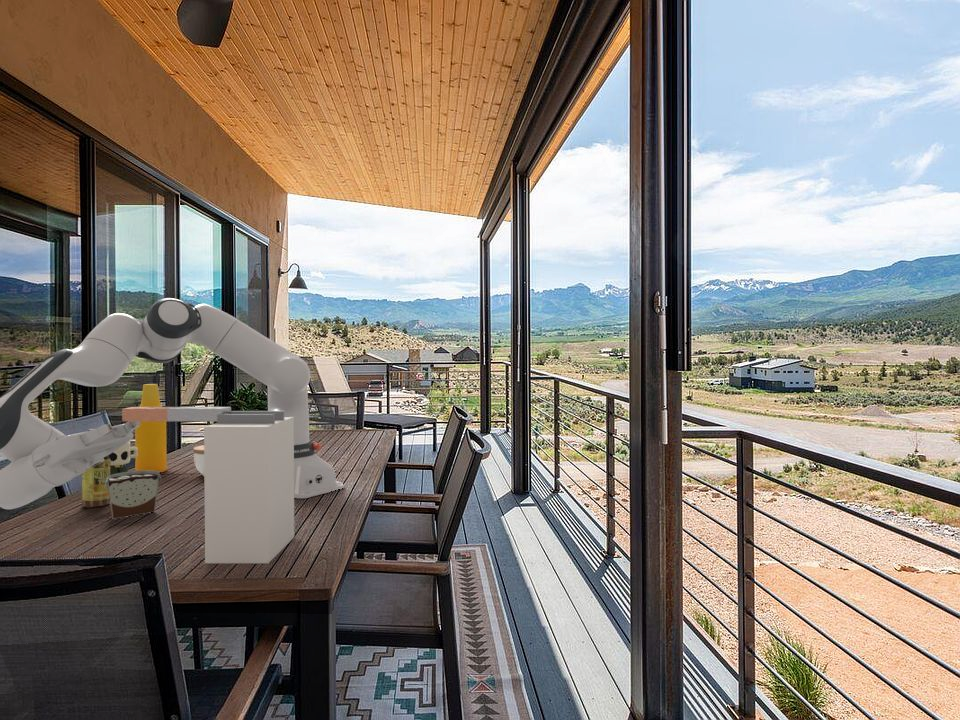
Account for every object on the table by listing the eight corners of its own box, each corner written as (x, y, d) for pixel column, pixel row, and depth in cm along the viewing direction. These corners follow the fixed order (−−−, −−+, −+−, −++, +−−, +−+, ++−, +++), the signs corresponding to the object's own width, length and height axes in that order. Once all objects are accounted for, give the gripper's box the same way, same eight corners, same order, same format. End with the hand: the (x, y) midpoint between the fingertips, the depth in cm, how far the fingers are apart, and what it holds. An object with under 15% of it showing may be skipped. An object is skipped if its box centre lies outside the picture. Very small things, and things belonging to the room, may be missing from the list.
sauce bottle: (96, 509, 153) (95, 431, 153) (75, 507, 155) (74, 430, 154) (116, 502, 160) (115, 427, 159) (96, 501, 161) (95, 427, 161)
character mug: (97, 491, 173) (97, 445, 173) (93, 486, 178) (93, 442, 178) (140, 485, 180) (140, 442, 180) (135, 481, 185) (135, 439, 185)
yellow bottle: (151, 468, 206) (150, 383, 206) (173, 469, 203) (172, 383, 203) (128, 473, 197) (127, 384, 197) (151, 475, 195) (150, 385, 194)
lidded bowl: (192, 480, 187) (192, 444, 187) (194, 472, 199) (194, 439, 198) (236, 477, 192) (236, 442, 192) (235, 469, 204) (235, 437, 203)
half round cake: (154, 506, 156) (153, 468, 156) (161, 511, 152) (161, 471, 151) (98, 515, 147) (98, 475, 147) (105, 521, 143) (104, 478, 143)
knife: (122, 421, 120) (122, 408, 120) (133, 418, 124) (133, 406, 124) (222, 421, 120) (222, 408, 120) (231, 418, 124) (231, 406, 124)
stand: (205, 563, 115) (203, 417, 114) (238, 537, 131) (237, 408, 130) (268, 563, 115) (267, 417, 114) (294, 537, 131) (293, 408, 130)
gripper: (17, 453, 112) (82, 416, 112) (89, 437, 132) (143, 406, 132) (34, 482, 112) (99, 446, 112) (103, 462, 132) (158, 431, 132)
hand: (123, 424), depth 122 cm, fingers open, 8 cm apart
